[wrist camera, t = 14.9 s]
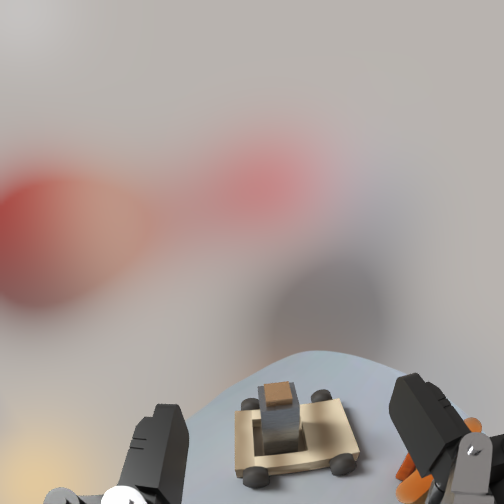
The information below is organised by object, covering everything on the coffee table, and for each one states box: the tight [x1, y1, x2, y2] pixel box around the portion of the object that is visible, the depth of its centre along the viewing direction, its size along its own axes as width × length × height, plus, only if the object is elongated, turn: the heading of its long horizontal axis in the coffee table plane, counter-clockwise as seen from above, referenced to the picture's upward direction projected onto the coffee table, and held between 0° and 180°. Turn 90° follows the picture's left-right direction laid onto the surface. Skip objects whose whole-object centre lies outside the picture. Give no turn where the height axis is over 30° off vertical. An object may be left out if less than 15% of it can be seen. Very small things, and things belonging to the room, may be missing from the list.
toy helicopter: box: [396, 417, 482, 504], centre depth 16 cm, size 8×21×14 cm, turn 138°
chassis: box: [235, 389, 360, 488], centre depth 34 cm, size 16×15×3 cm
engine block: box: [258, 381, 300, 456], centre depth 33 cm, size 4×4×11 cm
